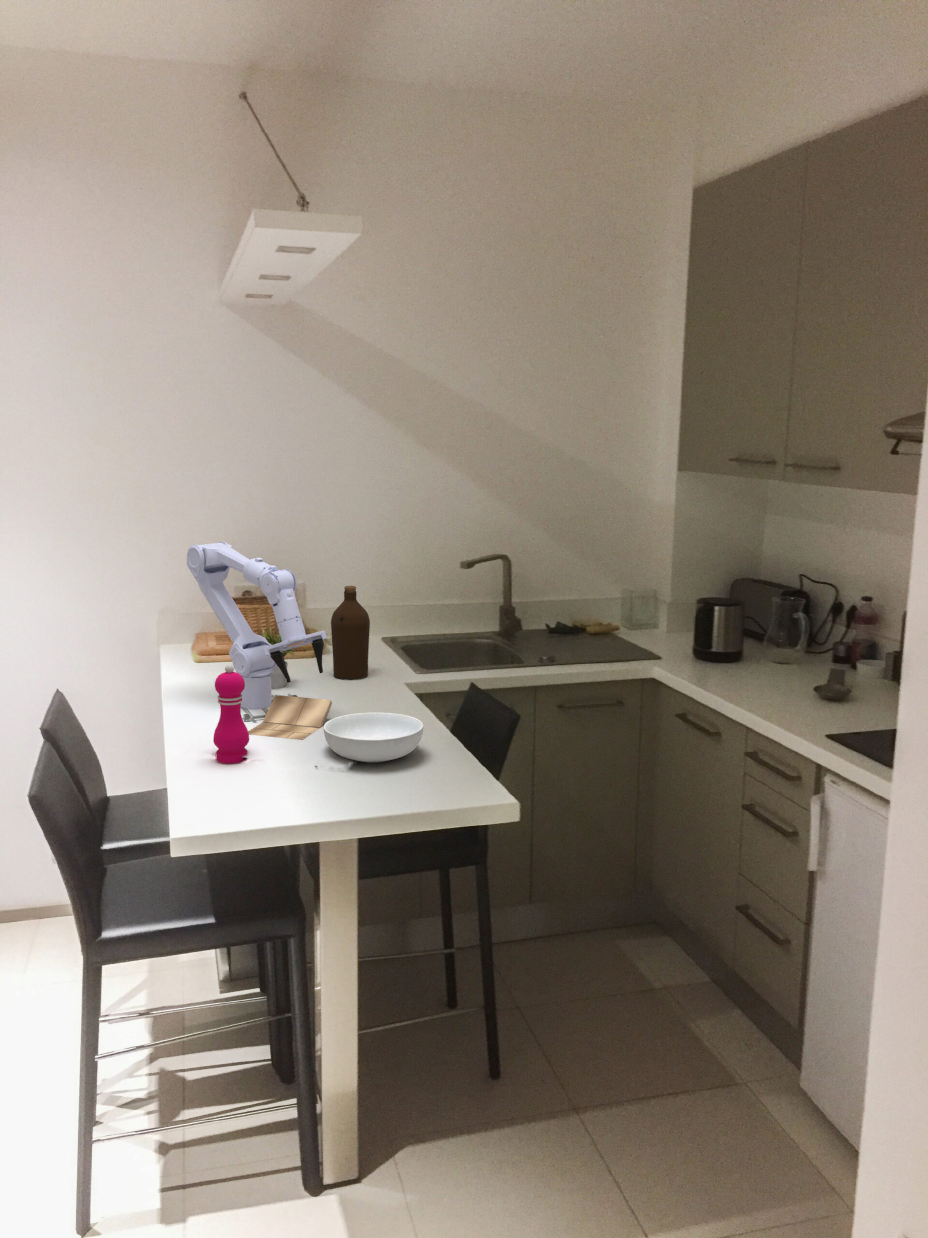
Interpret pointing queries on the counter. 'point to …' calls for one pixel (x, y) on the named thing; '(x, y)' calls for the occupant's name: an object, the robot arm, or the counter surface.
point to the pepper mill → (230, 718)
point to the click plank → (298, 711)
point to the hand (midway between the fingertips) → (305, 677)
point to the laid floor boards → (282, 731)
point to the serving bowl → (373, 736)
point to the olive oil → (350, 638)
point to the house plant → (277, 674)
